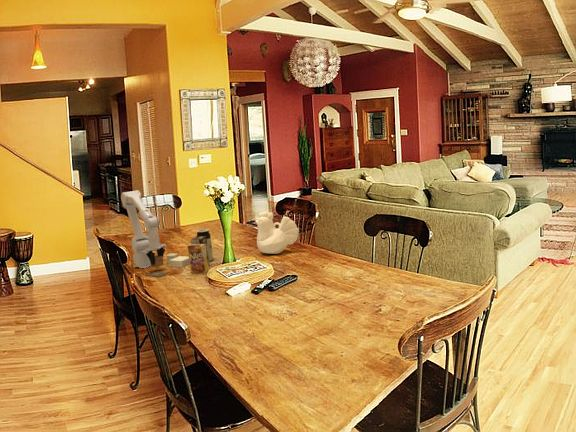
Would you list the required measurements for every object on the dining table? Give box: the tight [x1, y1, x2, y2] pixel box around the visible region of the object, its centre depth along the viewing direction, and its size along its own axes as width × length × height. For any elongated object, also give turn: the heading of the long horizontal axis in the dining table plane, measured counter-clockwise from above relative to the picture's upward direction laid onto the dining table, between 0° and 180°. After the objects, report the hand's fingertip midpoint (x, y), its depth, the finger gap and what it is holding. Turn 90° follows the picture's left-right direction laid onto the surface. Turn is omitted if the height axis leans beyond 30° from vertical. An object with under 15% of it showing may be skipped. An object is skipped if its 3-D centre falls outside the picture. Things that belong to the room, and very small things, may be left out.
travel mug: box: [195, 228, 214, 262], centre depth 313 cm, size 8×8×18 cm
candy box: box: [187, 243, 209, 274], centre depth 289 cm, size 9×4×15 cm, turn 73°
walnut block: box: [150, 254, 165, 268], centre depth 300 cm, size 5×5×5 cm
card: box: [145, 271, 169, 278], centre depth 292 cm, size 10×7×1 cm
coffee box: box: [190, 236, 210, 265], centre depth 301 cm, size 9×6×16 cm
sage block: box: [165, 252, 179, 265], centre depth 316 cm, size 5×5×5 cm
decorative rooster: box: [254, 210, 300, 255], centre depth 314 cm, size 25×16×25 cm, turn 67°
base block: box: [169, 255, 190, 268], centre depth 309 cm, size 9×9×4 cm
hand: (156, 263), depth 300 cm, fingers closed on walnut block, 5 cm apart
